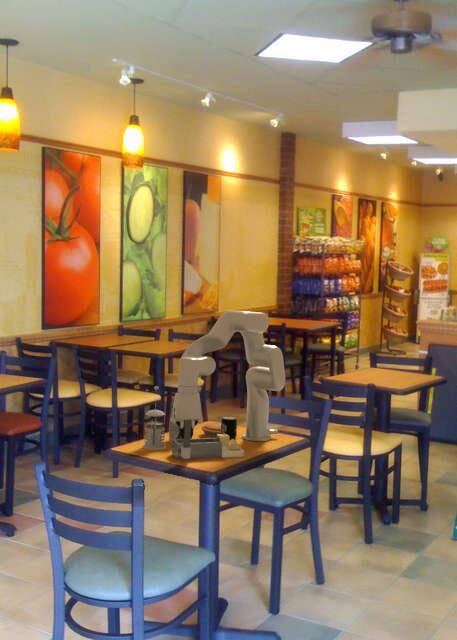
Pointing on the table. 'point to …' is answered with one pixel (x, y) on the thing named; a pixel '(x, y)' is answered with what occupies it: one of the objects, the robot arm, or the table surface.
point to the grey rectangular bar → (186, 440)
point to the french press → (154, 431)
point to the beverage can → (229, 426)
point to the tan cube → (223, 439)
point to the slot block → (198, 448)
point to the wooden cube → (233, 445)
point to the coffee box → (173, 428)
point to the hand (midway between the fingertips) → (186, 437)
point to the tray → (231, 453)
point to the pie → (212, 429)
